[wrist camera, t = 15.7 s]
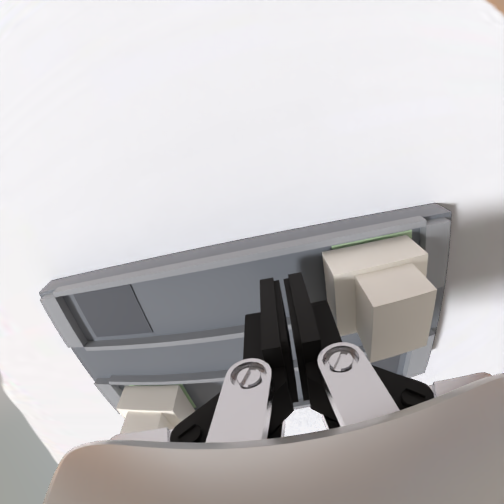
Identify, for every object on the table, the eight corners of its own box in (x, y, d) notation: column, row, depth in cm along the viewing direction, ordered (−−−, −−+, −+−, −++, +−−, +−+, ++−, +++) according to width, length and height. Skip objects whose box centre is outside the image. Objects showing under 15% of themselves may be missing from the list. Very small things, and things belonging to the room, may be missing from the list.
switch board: (435, 201, 12) (458, 213, 11) (418, 353, 17) (429, 372, 15) (50, 279, 15) (32, 296, 13) (123, 396, 19) (116, 415, 17)
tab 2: (405, 234, 11) (455, 278, 8) (403, 290, 12) (441, 343, 9) (321, 252, 12) (349, 307, 8) (327, 309, 13) (349, 371, 9)
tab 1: (178, 384, 15) (165, 439, 12) (195, 411, 17) (187, 461, 13) (125, 385, 16) (106, 433, 12) (145, 411, 17) (131, 456, 13)
